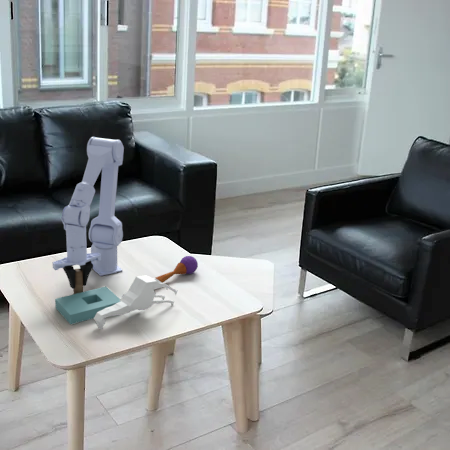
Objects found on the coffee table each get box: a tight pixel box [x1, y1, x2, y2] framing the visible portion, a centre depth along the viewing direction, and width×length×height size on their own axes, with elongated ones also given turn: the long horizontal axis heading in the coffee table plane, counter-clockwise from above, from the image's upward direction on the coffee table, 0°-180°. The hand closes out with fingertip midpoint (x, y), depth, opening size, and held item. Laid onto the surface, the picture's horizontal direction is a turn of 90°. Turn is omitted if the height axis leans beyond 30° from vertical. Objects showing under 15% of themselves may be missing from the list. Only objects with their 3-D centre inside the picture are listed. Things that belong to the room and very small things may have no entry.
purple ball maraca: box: [154, 255, 199, 283], centre depth 205 cm, size 6×6×20 cm
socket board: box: [54, 286, 121, 325], centre depth 184 cm, size 11×16×3 cm
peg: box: [72, 268, 84, 295], centre depth 191 cm, size 3×3×8 cm
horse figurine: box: [93, 274, 178, 330], centre depth 182 cm, size 5×16×25 cm
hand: (78, 286), depth 192 cm, fingers closed on peg, 3 cm apart
